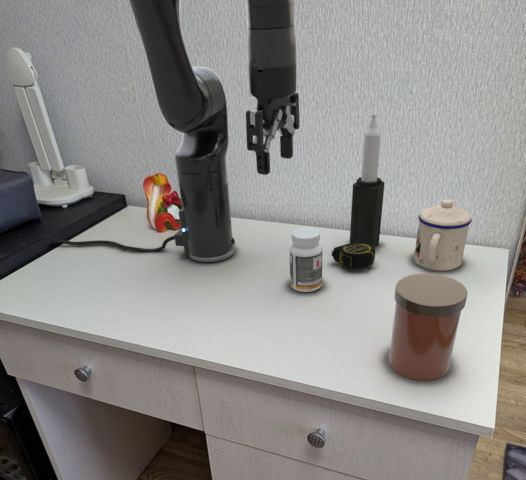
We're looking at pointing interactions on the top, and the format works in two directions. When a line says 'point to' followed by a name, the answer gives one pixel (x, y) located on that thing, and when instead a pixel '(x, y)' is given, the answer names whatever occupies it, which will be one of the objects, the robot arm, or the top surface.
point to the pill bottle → (306, 260)
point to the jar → (425, 325)
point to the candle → (368, 192)
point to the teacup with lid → (441, 236)
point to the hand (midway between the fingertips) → (275, 165)
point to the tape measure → (354, 255)
